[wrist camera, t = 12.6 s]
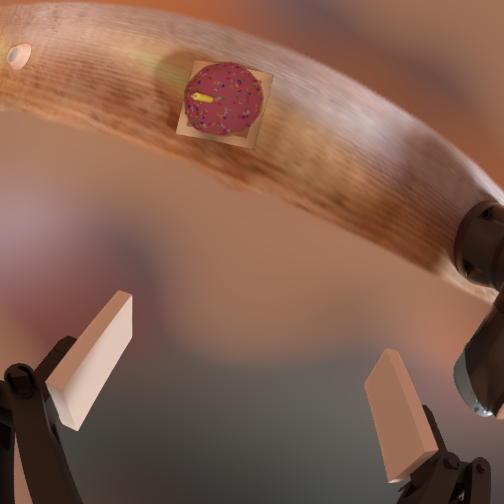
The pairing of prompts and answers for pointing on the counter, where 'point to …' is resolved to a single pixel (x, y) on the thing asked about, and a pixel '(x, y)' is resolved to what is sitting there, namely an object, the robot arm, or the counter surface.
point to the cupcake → (223, 99)
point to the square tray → (240, 139)
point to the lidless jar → (18, 56)
